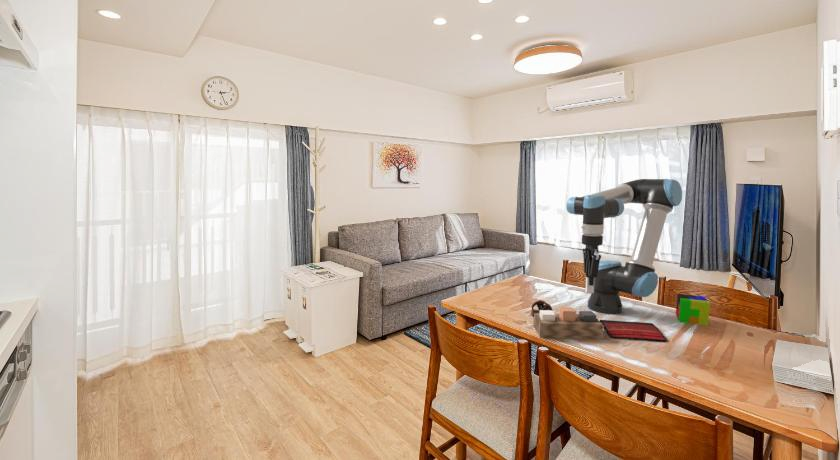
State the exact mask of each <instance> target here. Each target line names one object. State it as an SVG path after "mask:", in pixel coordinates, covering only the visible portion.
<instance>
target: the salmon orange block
mask: <svg viewBox="0 0 840 460" xmlns="http://www.w3.org/2000/svg"><path fill="white" fill-rule="evenodd" d="M558 310H559V311H558V314H559V318H560V320H561V321H576V314H577V311H576V310H575V309H574V307H572V306H559V309H558Z"/></svg>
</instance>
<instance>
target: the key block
mask: <svg viewBox="0 0 840 460" xmlns="http://www.w3.org/2000/svg"><path fill="white" fill-rule="evenodd" d="M554 314H555V321H541V319H540V318H539V313H534V315H533V327H534V328H533V329H534V330H535V332H536V333H537V336H538V337H539V338H542V339H544V338H545V339H546V338H548V339H551V338H552V339H580V340H581V339H582V340H584V339H589V340H590V339H592V340H603V332H604V331H603V330H604V329H603V327H604V326H603V324H602V323H601V322H600V319H598V318H597V317H596V322H582V321H581V320H580V319H579V313H576V321H561V320H560V318H559V313H556V312H554Z"/></svg>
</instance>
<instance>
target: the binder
mask: <svg viewBox="0 0 840 460" xmlns="http://www.w3.org/2000/svg"><path fill="white" fill-rule="evenodd" d="M599 321H600V322H601V323H602V324H603V330H604V331H605V333H606V334H607V335H608V336H609V338H610V339H615V340H617V339H618V340H635V341H636V340H637V341H638V340H640V341H652V342H658V343H666V342H668V338H667V337H665V336H666V335H664V334H663V333H662V331H661V330H659V329H658V327H657V326H656V325H655V324H654V323H653V322H643V321H642V322H641V321H640V322H639V321H638V322H637V321H622V320H609V319H608V320H606V319H599Z"/></svg>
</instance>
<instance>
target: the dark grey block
mask: <svg viewBox="0 0 840 460" xmlns="http://www.w3.org/2000/svg"><path fill="white" fill-rule="evenodd" d="M578 314H579V319H580V320H581V321H582V322H596V318H597V315H596V313H595V312H594V311H593V310H579V311H578Z"/></svg>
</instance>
